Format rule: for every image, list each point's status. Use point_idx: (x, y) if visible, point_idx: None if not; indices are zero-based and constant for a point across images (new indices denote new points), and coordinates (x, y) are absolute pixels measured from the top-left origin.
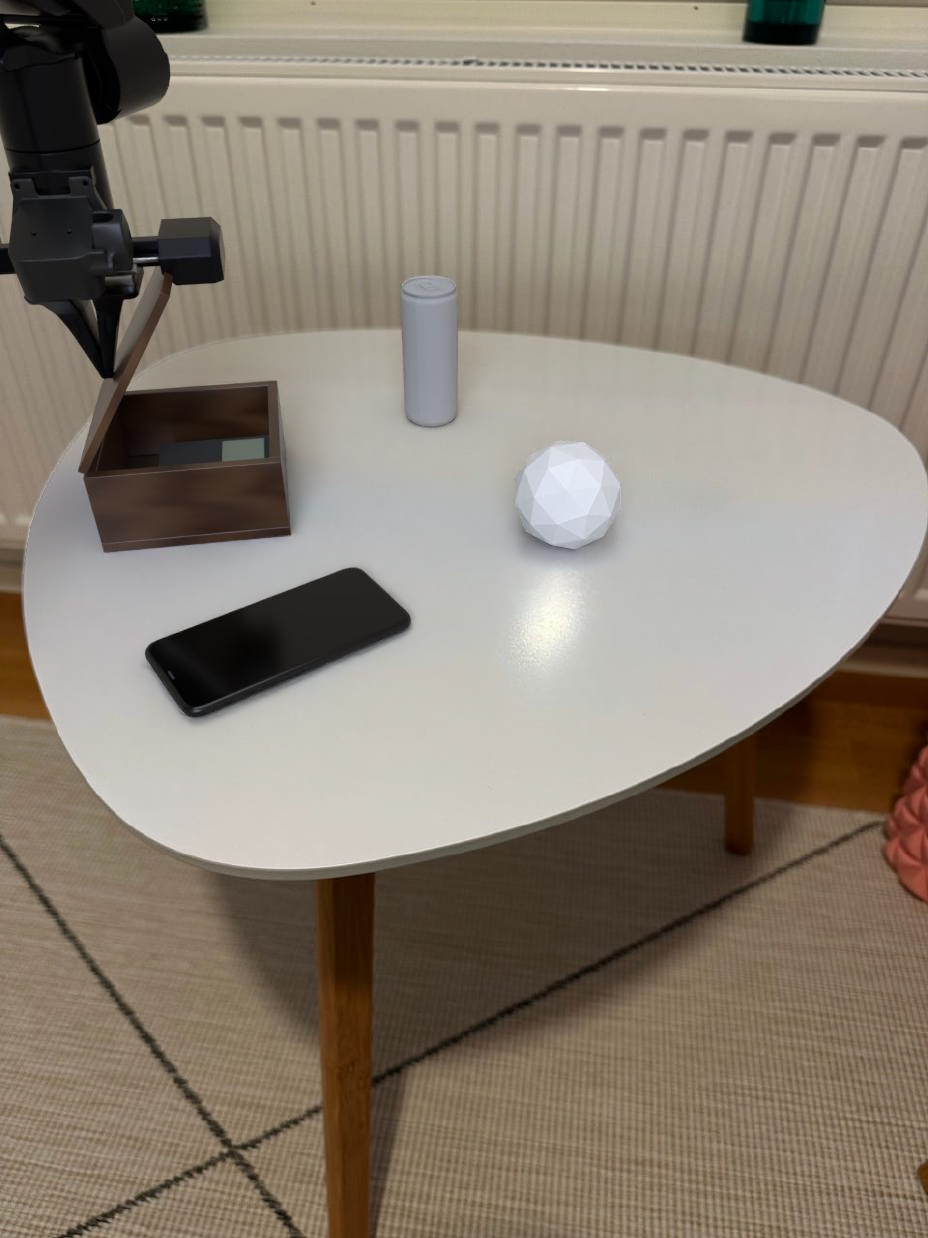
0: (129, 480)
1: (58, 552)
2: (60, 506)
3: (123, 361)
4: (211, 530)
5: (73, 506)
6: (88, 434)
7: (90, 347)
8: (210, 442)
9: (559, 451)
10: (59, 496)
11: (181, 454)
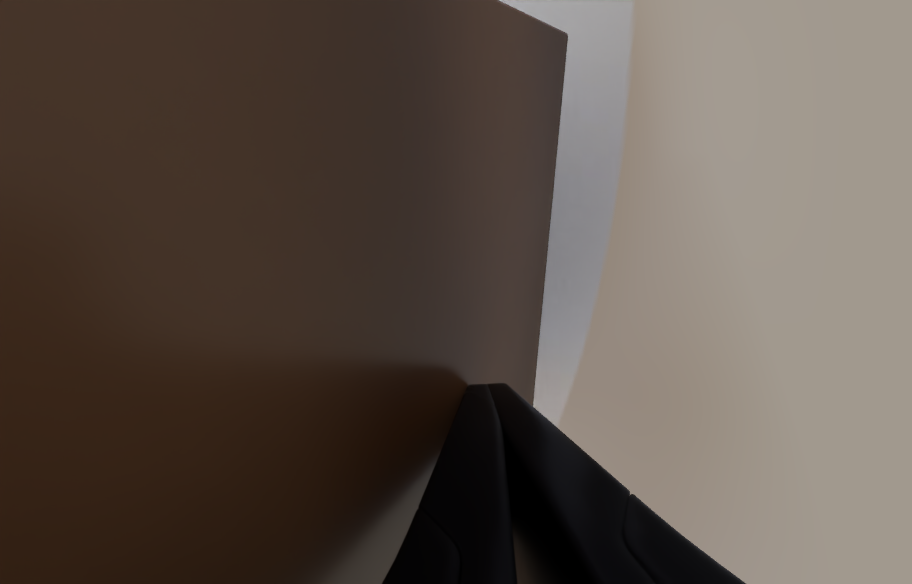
0: None
1: (588, 81)
2: (586, 248)
3: (366, 325)
4: None
5: (564, 244)
6: (543, 245)
7: (555, 463)
8: None
9: None
10: (588, 280)
11: None
